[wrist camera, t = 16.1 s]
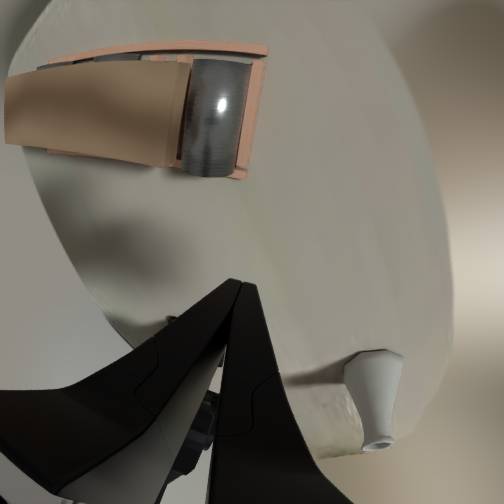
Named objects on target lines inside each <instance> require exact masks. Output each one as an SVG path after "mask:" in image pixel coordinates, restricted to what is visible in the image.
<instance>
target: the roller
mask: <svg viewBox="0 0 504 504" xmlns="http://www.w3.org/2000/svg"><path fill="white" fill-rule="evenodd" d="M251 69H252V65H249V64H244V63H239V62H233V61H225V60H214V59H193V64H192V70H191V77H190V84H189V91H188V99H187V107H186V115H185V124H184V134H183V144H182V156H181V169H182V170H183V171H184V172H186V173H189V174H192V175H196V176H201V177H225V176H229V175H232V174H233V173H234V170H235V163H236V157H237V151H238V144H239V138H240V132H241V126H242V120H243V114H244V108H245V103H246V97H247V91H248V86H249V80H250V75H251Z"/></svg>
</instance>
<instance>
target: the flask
mask: <svg viewBox="0 0 504 504" xmlns="http://www.w3.org/2000/svg"><path fill="white" fill-rule="evenodd" d="M403 361H404V357H402V356H400V355H397V354H395V353H393V352H390V351H388V350H384V351H373V352H361V353H360V354H359V355H358V356H356V357H355V358H354V359H352V360H351V361H350V362H348V363H347V364H346V365H344V374H343V380H344V382H345V384H346V387H347V389H348V391H349V393H350V395H351V397H352V399H353V401H354V403H355V406H356V408H357V410H358V413H359V415H360V417H361V421H362V426H363V430H364V442H363V444H362V446H361V450H362V451H379V450H383V449H386V448H388V447H391V446H392V444H393V443H394V439H393V438H391V433H390V423H391V415H392V408H393V404H394V400H395V396H396V392H397V387H398V383H399V379H400V375H401V371H402V367H403Z"/></svg>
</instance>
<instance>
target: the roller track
mask: <svg viewBox="0 0 504 504" xmlns="http://www.w3.org/2000/svg"><path fill="white" fill-rule="evenodd" d="M159 50H209V51H226V52H238V53H248V54H256V55H264V56H268V51H269V47H268V46H262V45H254V44H244V43H232V42H215V41H167V42H151V43H139V44H130V45H122V46H114V47H108V48H102V49H96V50H91V51H86V52H81V53H77V54H73V55H68V56H64V57H61V58H57V59H53V60H50V61H48V64H52V63H58V62H66V61H78V60H83V59H88V58H94V57H96V56H101V55H108V54H120V53H131V52H143V51H159ZM165 58H166V57H165V56H158V55H156V56H150V57H149V61H165ZM177 62H184V63H190V64H191V68H190V73H189V78H188V83H187V88H186V94H185V100H184V106H183V112H182V118H181V125H180V132H179V139H178V147H177V154H178V153H180V152H182V144H183V134H184V124H185V115H186V107H187V99H188V91H189V83H190V76H191V69H192V62H193V56H188V55H178V56H177ZM265 67H266V62H264V61H260V60H253V65H252V70H251V76H250V82H249V88H248V94H247V100H246V106H245V112H244V118H243V124H242V131H241V137H240V144H239V150H238V157H237V164H236V165H237V166H242V167H246V166H247V164H248V163H249V159H250V153H251V147H252V142H253V136H254V130H255V124H256V118H257V112H258V107H259V101H260V95H261V90H262V84H263V78H264V73H265ZM47 153H51V154H66V155H79V156H90V157H100V158H108V157H102V156H96V155H90V154H84V153H77V152H71V151H64V150H57V149H49V148H47ZM110 159H113V158H110ZM118 160H119V159H118ZM168 166H170V167H176V168H181V158H180V157H176V161H175V162H173V163H172V164H170V165H168ZM247 172H248V169H243V168H238V167H235V170H234V173H233V174H232V175H229V176H227V177H232V178H237V179H242V180H245V179H246V178H247Z"/></svg>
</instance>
